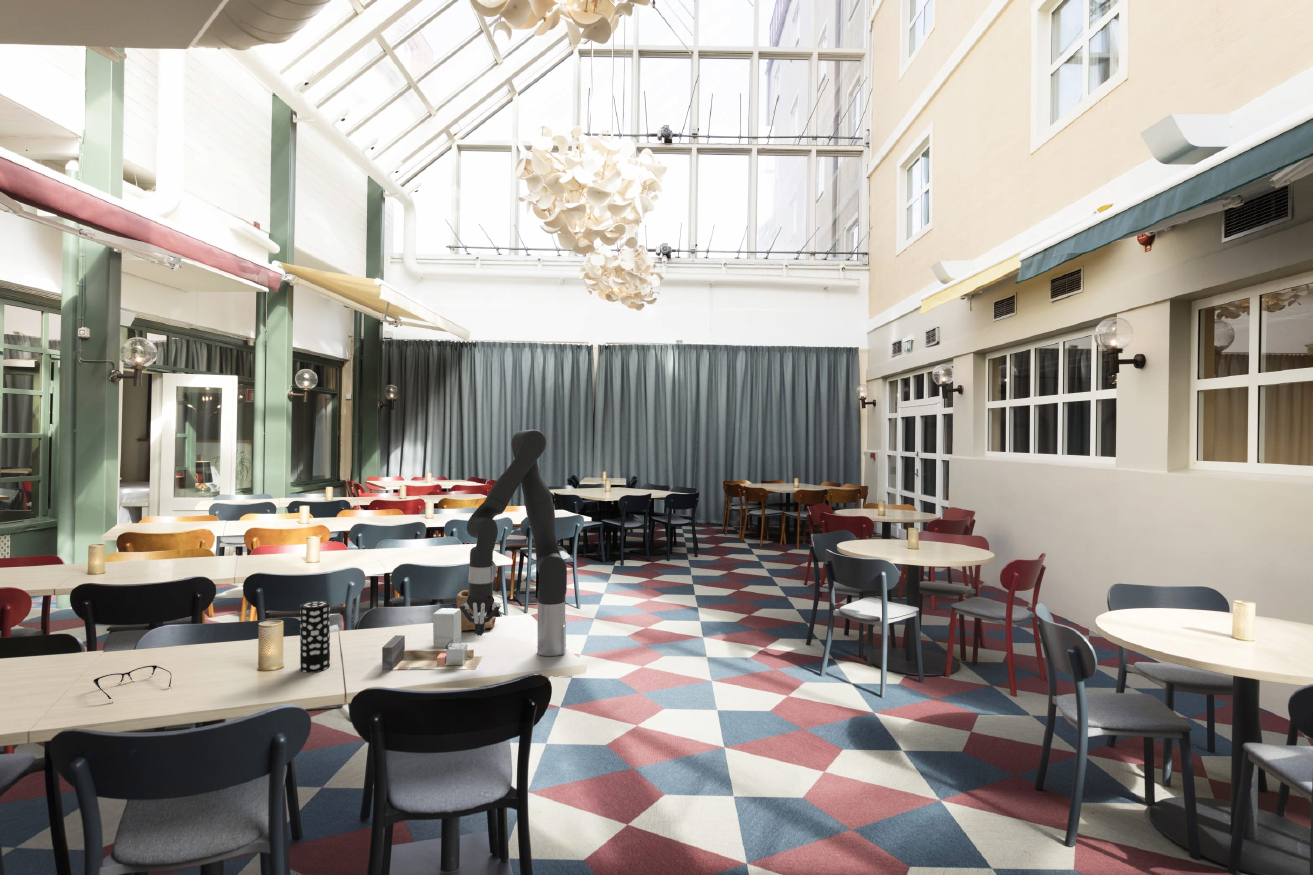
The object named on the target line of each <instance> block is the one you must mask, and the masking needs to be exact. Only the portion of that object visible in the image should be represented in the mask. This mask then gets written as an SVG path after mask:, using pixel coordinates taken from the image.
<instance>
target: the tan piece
mask: <svg viewBox="0 0 1313 875" xmlns="http://www.w3.org/2000/svg"><path fill="white" fill-rule="evenodd" d="M467 598H468V589H463V590H461V591H460V592H458V593H457V595H456V609H460V606H461V605H462V604H464V603H466V601H467ZM468 607H469V605H468ZM468 609H469V611H470V612H471V613H472V615H473V616H474V612H473V611H472V610H471V608H470V607H469V608H468ZM496 619H497V617H496V616H493V617H492V619H491V620H490V621H489V622H486V623H485V629H492V628H494V626H495V624H496V621H497V620H496ZM462 631H475V623H474V622H470V621H469V620H468V619H467V618H466V616H465V615H464V614H463V612H462V611H461V632H462Z"/></svg>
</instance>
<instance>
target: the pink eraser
mask: <svg viewBox="0 0 1313 875" xmlns="http://www.w3.org/2000/svg"><path fill="white" fill-rule="evenodd" d="M445 664H446V653H440V654H439V656H438V657H437V665H445Z"/></svg>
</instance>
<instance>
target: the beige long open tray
mask: <svg viewBox="0 0 1313 875" xmlns="http://www.w3.org/2000/svg"><path fill="white" fill-rule="evenodd" d="M405 638H406V635H401V634H400V635H398V634H397V635H396V634H395V635H394V636H393V637H392V638H391V639H389V641H387V642H386V643H385V644H384V645H383V646H382V648H381V654H382V655H381V664H382V665H381V669H382V670H381V671H382V672H383V671H467V670H468V671H470V670H473V671H475V670H476V669H477V668H478V666H479V665H480V662H482V659H483V658H484V656H483V655H482V656H479V655H478V656H477V655H476V656H475V653H474V652H475V650H474V649H473V648H471V649H469V648H467V660H466V661H465V663H464V664H463V665H446V664H445V665H437V657H438V656H439V654H440V653H446V649H444V648H443V649H406V644H405V643H406V639H405Z"/></svg>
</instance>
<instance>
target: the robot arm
mask: <svg viewBox="0 0 1313 875" xmlns="http://www.w3.org/2000/svg"><path fill="white" fill-rule="evenodd" d="M511 438H512V439H511V441H510V442H511V451H512V454H513V457H514V459H513V461H512V462H511V463H510V465H509V466H508V467H507V469H506V470H505V471H504V472H503V473H502V474H501V475H500V476H499V477H498V478H497V479H496V481H495V482H494V483H493V485H492V487H491V489H490V490H489V492H488V493H487V495H486V497H485V499H484V501H483V502H482V503H481V504H480V505H479V506H478V507H477V509H476V510H475V511H474V512H473V513H472V514H471V516H470V517H469V518H468V521H467V523H466V532H467V534H468V535H469V536H470V537H471V538H473V539H474V538H475V539H477V540H476V544H475V546H474V547H472V548H471V549H470V551H469V570H468V578H467V579H468V589H467V590H468V598H467V601H466V603H464V604H462V605H461V606H460V610H461V611H462V612H463V614H464V615H465V616H466V618H467V619H468V620H469V621H470V622H474V623H475V630H474V633H475V634H476V636H478V637H479V636H480V637H481V636H483V634H485V632H486V628H485V623H486V622H489V621H490V620H491V619H492V617H495V615H496V614H497V612H499V610H500V609H501V608H502V605H501V604H499V603H496V602H495V598H494V563H493V562H494V555H493V554H494V550H495V546H496V542H497V539H498V533H499V528H498V524H497V522H496V520H494V518H495V517H496V516H499V515H502V514H504V512H505V510H506V509H507V507H508V505H509V503H510V501H511V499H512V497H513V496H514V494H515V492H516V491H517V489H518V487H519V486H520V485H521V490H522V495H523V501H524V506H525V512H526V517H527V520H528V524H529V528H530V531H531V534H532V539H533V542H534V549H535V559H536V560H535V561H536V563H535V564H536V570H537V572H538V593H537V645H536V646H537V654H538V655H540V656H544V657H557V656H561V655H562V656H564V655H565V654H566V650H567V621H566V595H567V588H568V585H567V584H568V567H567V563H566V560H565V559H563V557H562V555H561V552H560V549H559V545H558V542H557V538H556V514H555V511H556V510H555V506H554V501H553V496H552V493H551V490H550V488H549V486H548V484H547V482H546V481H545V479H544V477H543V475H542V473H541V471H540V469H539V464H538V459H539V458H540V457H541V455H543V453H544V451H545V450H546V446H547V438H546V437H545V435H544V433H543V432H542V431H540V430H539V429H538V430H537V429H525V430H519V431H517V432H515V434H514V435H513V436H512V437H511ZM468 605H469V607H470V608H471V610H472V611H473V612H474V616H473V615H472V613H471V612H470V611H469V609H468V608H469V607H468ZM490 608H491V610H492V611H491V612H490V614H488V616H487V612H488V611H489V610H490ZM475 634H474V635H475Z"/></svg>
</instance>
